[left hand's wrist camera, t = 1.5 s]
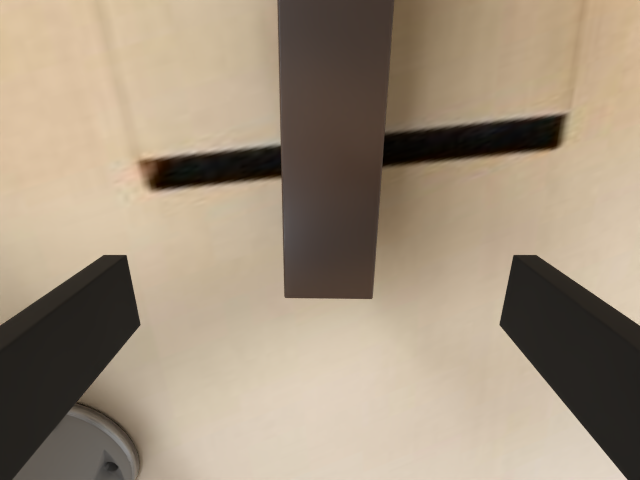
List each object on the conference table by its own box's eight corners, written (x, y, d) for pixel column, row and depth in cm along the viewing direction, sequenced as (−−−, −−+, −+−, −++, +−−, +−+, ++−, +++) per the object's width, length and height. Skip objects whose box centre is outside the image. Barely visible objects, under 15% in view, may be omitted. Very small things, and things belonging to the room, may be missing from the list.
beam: (356, 238, 30) (372, 299, 20) (295, 238, 30) (284, 298, 20) (380, -233, 20) (434, -535, 11) (290, -235, 20) (264, -539, 11)
